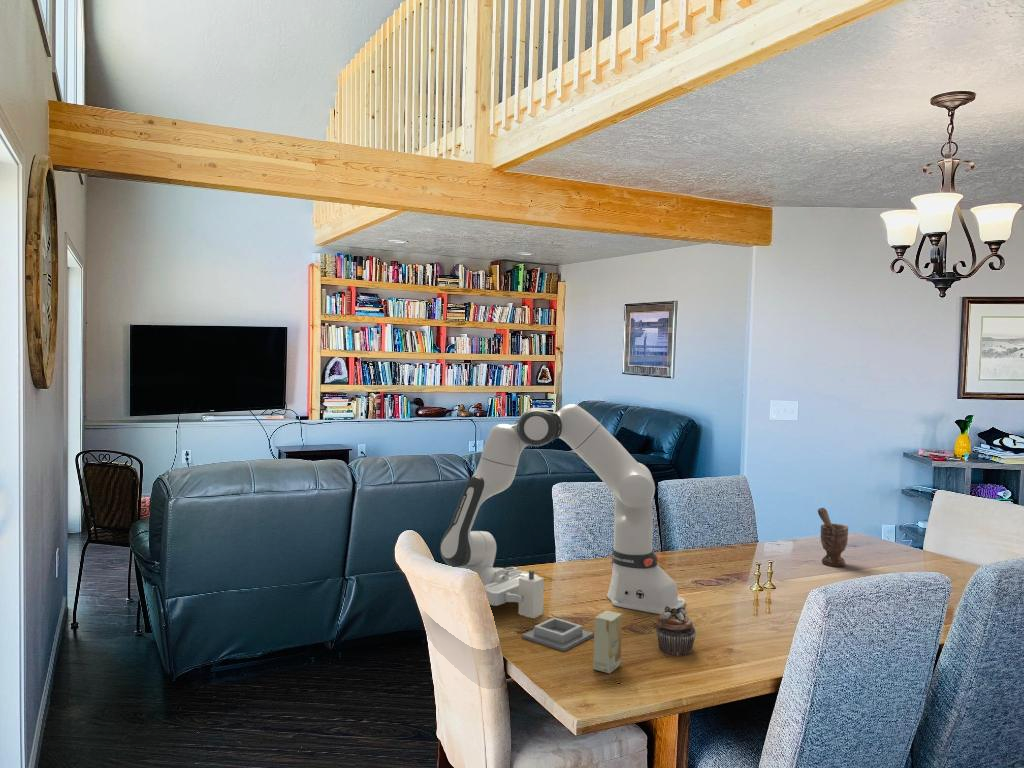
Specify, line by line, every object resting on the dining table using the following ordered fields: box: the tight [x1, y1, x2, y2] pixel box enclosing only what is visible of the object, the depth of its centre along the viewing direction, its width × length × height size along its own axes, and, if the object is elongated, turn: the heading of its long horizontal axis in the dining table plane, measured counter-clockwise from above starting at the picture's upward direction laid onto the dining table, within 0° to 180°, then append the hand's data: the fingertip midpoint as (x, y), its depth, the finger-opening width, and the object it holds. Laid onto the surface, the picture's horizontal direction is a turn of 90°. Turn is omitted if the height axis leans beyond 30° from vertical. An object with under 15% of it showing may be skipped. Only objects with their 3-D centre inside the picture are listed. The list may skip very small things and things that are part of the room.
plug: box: [518, 569, 545, 619], centre depth 209 cm, size 5×4×12 cm
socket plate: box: [521, 617, 594, 652], centre depth 194 cm, size 13×13×3 cm
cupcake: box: [655, 606, 697, 656], centre depth 187 cm, size 10×10×10 cm
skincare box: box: [592, 610, 623, 674], centre depth 176 cm, size 6×4×12 cm
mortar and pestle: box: [817, 507, 849, 568], centre depth 259 cm, size 12×9×20 cm
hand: (532, 594), depth 209 cm, fingers open, 8 cm apart
